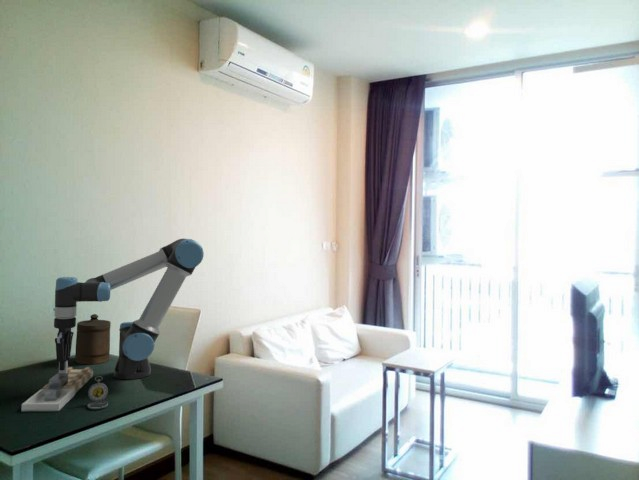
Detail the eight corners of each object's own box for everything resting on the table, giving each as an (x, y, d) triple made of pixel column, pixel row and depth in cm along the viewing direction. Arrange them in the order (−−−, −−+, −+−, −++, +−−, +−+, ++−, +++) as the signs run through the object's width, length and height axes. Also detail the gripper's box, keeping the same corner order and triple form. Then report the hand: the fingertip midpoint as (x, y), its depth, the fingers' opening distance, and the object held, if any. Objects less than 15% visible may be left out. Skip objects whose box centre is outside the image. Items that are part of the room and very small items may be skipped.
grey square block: (52, 386, 185) (53, 376, 185) (64, 386, 185) (64, 376, 185) (48, 390, 181) (49, 379, 181) (60, 390, 181) (60, 379, 181)
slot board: (65, 376, 207) (65, 366, 207) (92, 376, 209) (93, 366, 209) (42, 395, 183) (42, 384, 183) (73, 395, 185) (73, 384, 185)
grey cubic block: (49, 386, 181) (44, 389, 177) (60, 386, 181) (56, 389, 177) (48, 396, 181) (44, 400, 177) (60, 396, 181) (56, 400, 177)
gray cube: (56, 383, 189) (57, 373, 189) (67, 383, 189) (68, 373, 189) (52, 386, 185) (53, 376, 185) (64, 386, 185) (64, 376, 185)
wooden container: (114, 356, 240) (115, 312, 240) (101, 365, 226) (103, 317, 225) (84, 355, 240) (85, 311, 240) (69, 364, 225) (70, 316, 225)
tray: (40, 395, 183) (40, 389, 183) (74, 395, 185) (74, 388, 185) (21, 411, 167) (21, 404, 167) (58, 411, 169) (59, 403, 169)
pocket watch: (94, 411, 170) (95, 383, 170) (80, 406, 174) (81, 378, 174) (115, 405, 177) (116, 377, 177) (101, 400, 181) (102, 373, 181)
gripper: (61, 314, 195) (59, 372, 195) (48, 320, 182) (45, 382, 183) (81, 314, 196) (78, 372, 197) (69, 320, 183) (66, 382, 184)
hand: (62, 377), depth 190 cm, fingers closed
